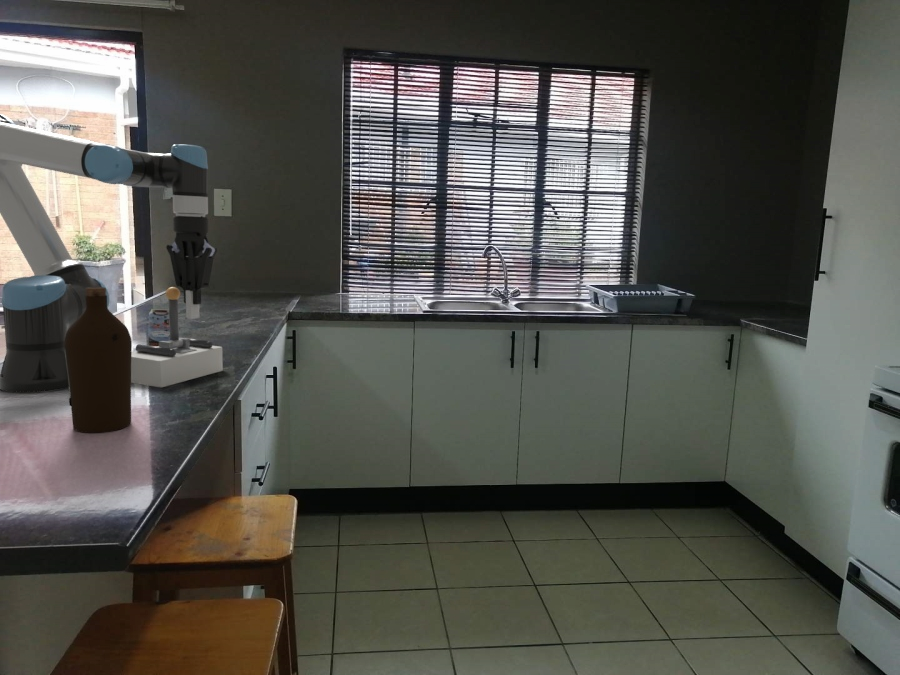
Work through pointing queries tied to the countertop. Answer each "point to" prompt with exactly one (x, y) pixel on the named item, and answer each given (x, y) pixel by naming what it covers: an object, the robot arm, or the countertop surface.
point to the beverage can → (158, 326)
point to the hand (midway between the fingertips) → (192, 317)
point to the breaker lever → (174, 316)
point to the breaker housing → (174, 362)
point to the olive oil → (98, 367)
